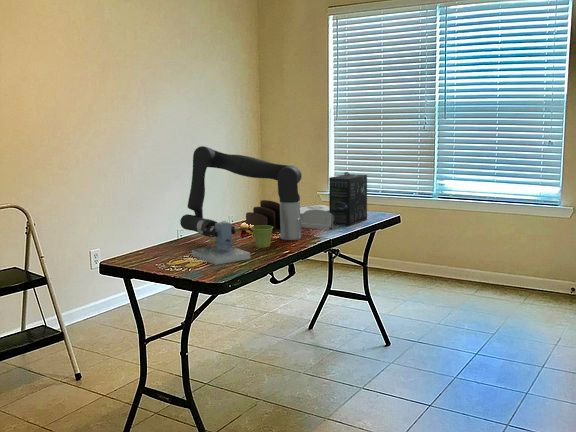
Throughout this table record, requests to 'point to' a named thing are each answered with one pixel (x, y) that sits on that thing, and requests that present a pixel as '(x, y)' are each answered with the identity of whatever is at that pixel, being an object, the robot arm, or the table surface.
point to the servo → (223, 233)
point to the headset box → (348, 198)
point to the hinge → (317, 219)
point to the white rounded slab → (319, 207)
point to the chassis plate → (220, 254)
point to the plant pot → (262, 235)
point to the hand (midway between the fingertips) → (225, 233)
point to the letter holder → (265, 215)
